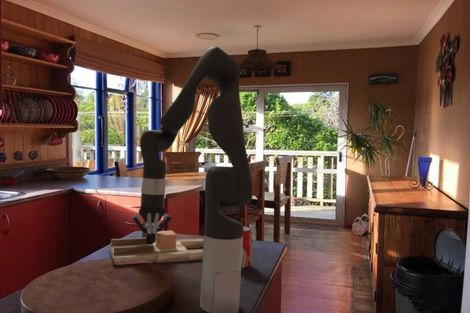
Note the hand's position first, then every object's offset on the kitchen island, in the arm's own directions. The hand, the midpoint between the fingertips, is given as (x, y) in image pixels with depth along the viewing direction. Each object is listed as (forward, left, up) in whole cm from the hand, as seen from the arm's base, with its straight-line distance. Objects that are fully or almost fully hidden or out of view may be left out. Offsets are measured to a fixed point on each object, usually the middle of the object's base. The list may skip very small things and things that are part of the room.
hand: (150, 244), depth 128 cm
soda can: (-16, -25, -4) cm, 30 cm away
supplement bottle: (+18, -3, -4) cm, 19 cm away
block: (+1, -5, -1) cm, 5 cm away
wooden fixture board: (0, -6, -4) cm, 7 cm away
